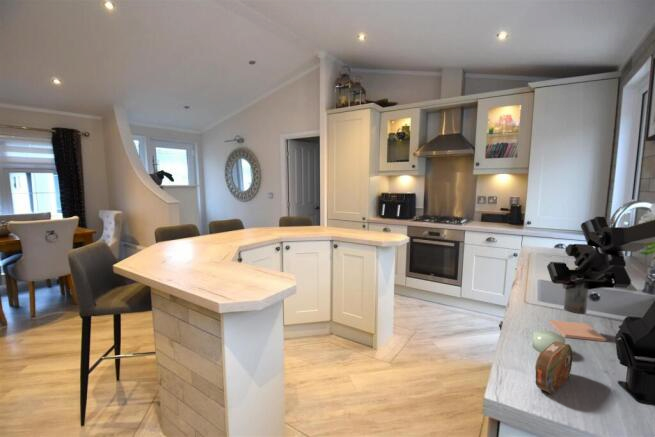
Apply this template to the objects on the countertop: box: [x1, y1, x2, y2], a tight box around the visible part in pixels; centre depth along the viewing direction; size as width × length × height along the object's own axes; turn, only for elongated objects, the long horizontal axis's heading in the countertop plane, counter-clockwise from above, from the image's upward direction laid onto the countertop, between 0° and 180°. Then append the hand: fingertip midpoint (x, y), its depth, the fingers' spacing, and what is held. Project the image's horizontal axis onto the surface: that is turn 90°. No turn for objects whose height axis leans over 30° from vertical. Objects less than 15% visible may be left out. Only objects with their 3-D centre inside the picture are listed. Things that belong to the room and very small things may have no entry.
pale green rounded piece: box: [532, 329, 566, 354], centre depth 85 cm, size 7×7×4 cm
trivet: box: [549, 320, 607, 342], centre depth 96 cm, size 10×10×1 cm
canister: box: [563, 267, 589, 315], centre depth 95 cm, size 5×5×12 cm
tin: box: [534, 342, 573, 395], centre depth 71 cm, size 15×3×8 cm, turn 126°
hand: (574, 287), depth 96 cm, fingers closed on canister, 5 cm apart
